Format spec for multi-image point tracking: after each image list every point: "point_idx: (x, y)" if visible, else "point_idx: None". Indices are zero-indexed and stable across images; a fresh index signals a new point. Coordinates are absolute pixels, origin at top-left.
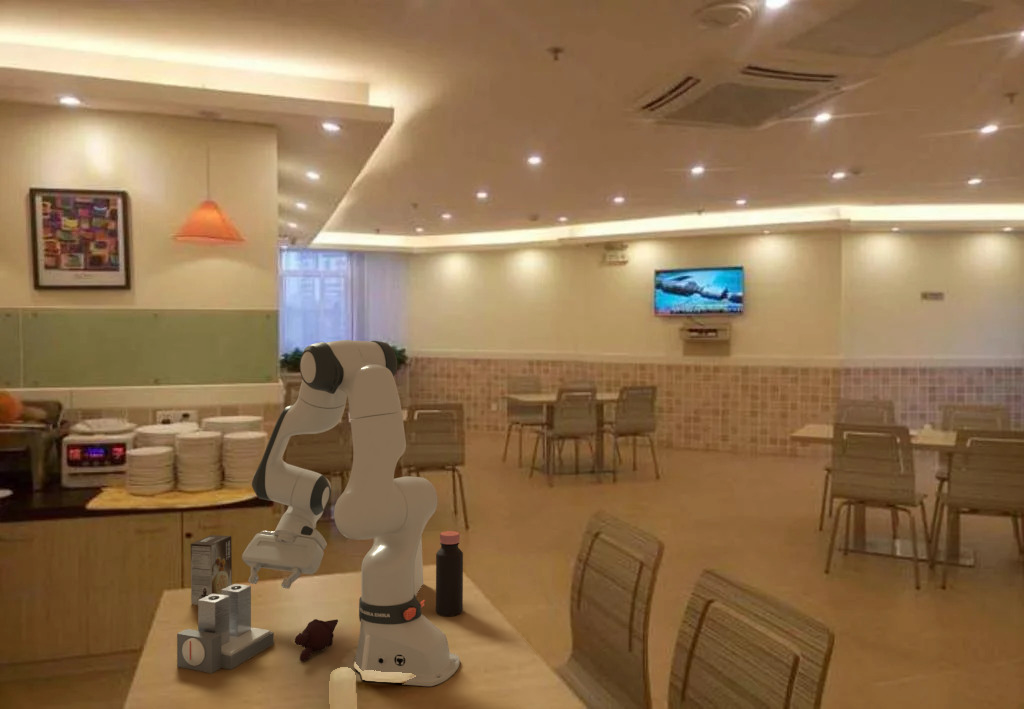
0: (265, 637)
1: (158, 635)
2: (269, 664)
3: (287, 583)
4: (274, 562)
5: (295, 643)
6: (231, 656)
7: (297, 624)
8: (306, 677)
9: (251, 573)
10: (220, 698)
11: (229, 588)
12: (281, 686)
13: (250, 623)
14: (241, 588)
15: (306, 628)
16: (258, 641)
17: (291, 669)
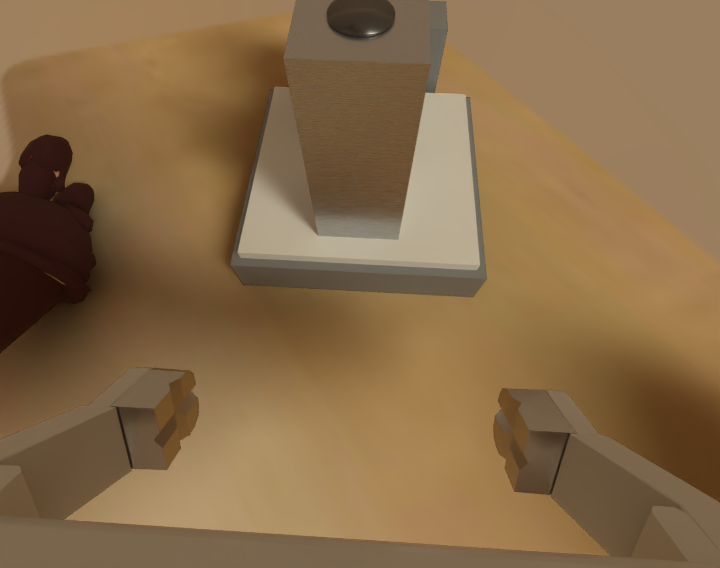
0: (240, 223)
1: (681, 235)
2: (187, 165)
3: (122, 380)
4: (308, 543)
5: (71, 151)
6: (272, 92)
7: (237, 507)
8: (53, 133)
9: (594, 432)
10: (224, 29)
11: (396, 2)
12: (106, 88)
13: (315, 217)
14: (317, 15)
15: (25, 202)
16: (247, 189)
17: (110, 157)
